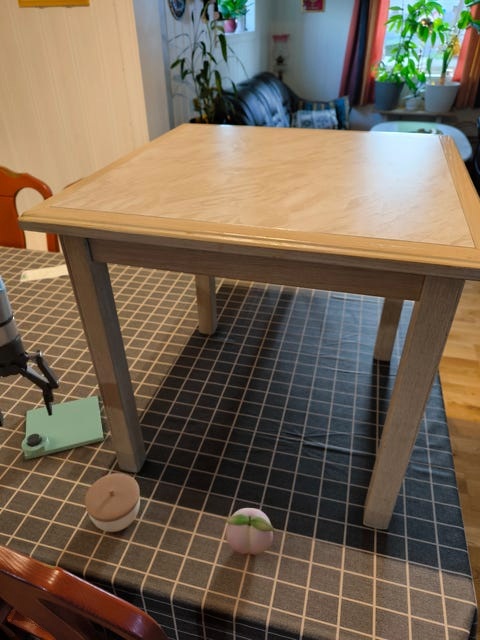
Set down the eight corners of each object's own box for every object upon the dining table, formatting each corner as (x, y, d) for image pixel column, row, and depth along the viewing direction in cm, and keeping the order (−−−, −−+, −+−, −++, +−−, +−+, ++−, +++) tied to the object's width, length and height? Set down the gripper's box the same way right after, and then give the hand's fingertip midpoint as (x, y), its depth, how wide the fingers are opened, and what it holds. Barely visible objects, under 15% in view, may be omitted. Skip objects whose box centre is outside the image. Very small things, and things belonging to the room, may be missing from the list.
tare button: (28, 448, 105) (26, 443, 104) (28, 439, 107) (27, 435, 106) (41, 445, 106) (39, 440, 105) (41, 436, 108) (39, 432, 107)
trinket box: (114, 488, 100) (107, 460, 94) (153, 507, 96) (149, 479, 91) (80, 528, 91) (71, 500, 86) (121, 550, 88) (114, 522, 82)
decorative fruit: (271, 527, 92) (274, 497, 87) (272, 566, 85) (275, 537, 80) (226, 525, 93) (226, 495, 87) (223, 564, 86) (223, 534, 80)
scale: (24, 463, 105) (21, 453, 103) (27, 416, 118) (23, 406, 116) (104, 443, 110) (102, 433, 108) (98, 400, 123) (96, 391, 121)
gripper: (57, 318, 96) (76, 395, 108) (-61, 338, 89) (-26, 417, 101) (58, 337, 90) (78, 416, 102) (-68, 359, 83) (-31, 441, 95)
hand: (26, 417), depth 102 cm, fingers open, 10 cm apart
